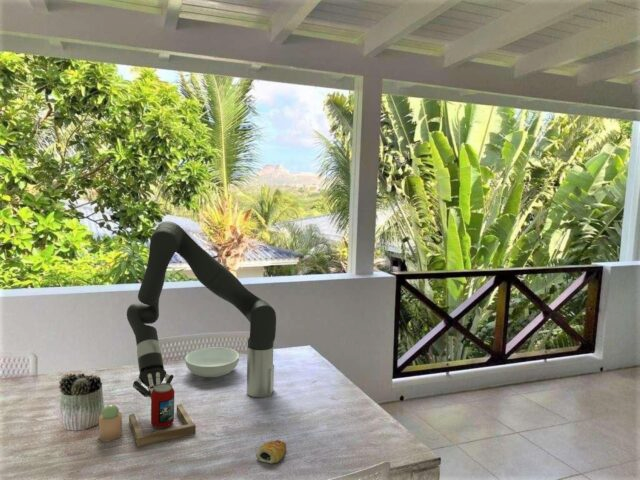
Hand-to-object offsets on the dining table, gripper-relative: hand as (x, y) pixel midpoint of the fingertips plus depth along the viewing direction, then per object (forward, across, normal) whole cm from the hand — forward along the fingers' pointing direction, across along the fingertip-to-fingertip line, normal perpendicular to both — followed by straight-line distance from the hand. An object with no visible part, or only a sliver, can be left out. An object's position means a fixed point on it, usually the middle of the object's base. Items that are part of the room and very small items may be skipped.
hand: (157, 407), depth 146 cm
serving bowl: (-18, -27, -24) cm, 40 cm away
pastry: (+27, -24, +21) cm, 41 cm away
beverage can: (+5, -1, -1) cm, 5 cm away
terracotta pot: (+5, +14, -1) cm, 15 cm away
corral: (+6, 0, 0) cm, 6 cm away
